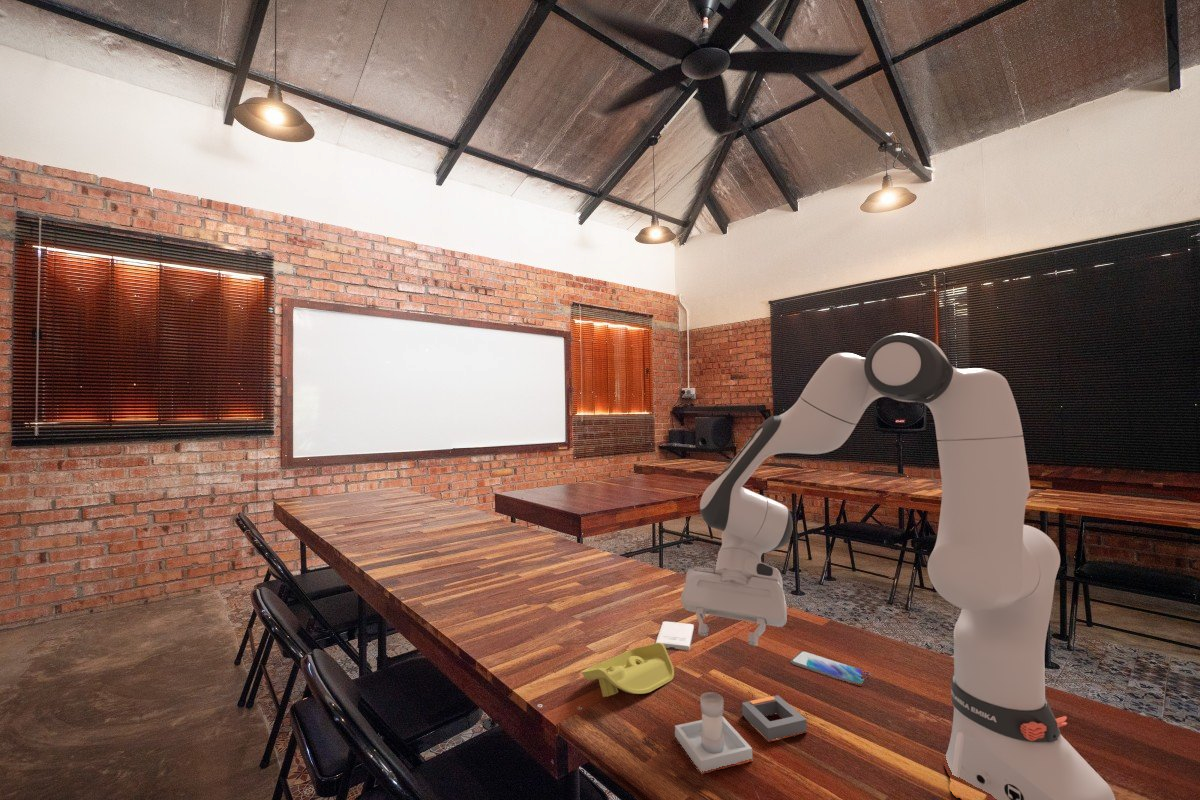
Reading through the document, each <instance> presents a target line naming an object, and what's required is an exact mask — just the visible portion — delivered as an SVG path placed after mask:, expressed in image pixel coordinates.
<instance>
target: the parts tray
mask: <svg viewBox="0 0 1200 800" xmlns="http://www.w3.org/2000/svg"><path fill="white" fill-rule="evenodd" d="M722 720H723V734H724V750H723V751H722V752H721V753H717V754H713V753H709V752H706V751H705V750H704V749H703V748H702V746H701V731H702V719H699V720H694V721H691V722H685V723H682V724H681V723H680V724H677V725H674V738H675V737H676V738H677V740H678V741H679V742H680V744H681V745H682V747H683V748H684V749H685V751H686V752H687V754H688V755H689V757H690V758H691V760H692V761H693V762H694V764H695V765H696V766H697V767H698V769H699V770H700V771H701V772H702V771H703V772H704V771H708V770H711V769H716V768H719V767H722V766H727V765H731V764H736V763H738V762H741V761H745V760H749V759H752V760H753V747H751V745H750V744H749V743H748V742H747V741H746V739H744V738H743V736H742V735H741V734H740V733H739V732H738V731H737V730H736V729H735V728H734V727H733V726H732V725H731V723H730V722H729V721H728V720H727V719H726V718H725V716H723V715H722ZM677 740H676V741H677ZM682 747H681V748H682ZM687 754H686V755H687ZM689 757H688V758H689ZM691 760H690V761H691ZM692 761H691V762H692ZM694 764H693V765H694Z"/></svg>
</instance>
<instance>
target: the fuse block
mask: <svg viewBox="0 0 1200 800" xmlns="http://www.w3.org/2000/svg"><path fill="white" fill-rule="evenodd" d="M775 713H777V714H778V715H779V716H780V717H781V718H783V719H781V718H780V717H779V716H778V715H777V714H775ZM771 714H775V715H777V716H778V717H779V719H775V720H771V721H770V720H769V719H768V718H767V716H766V717H765V715H770V716H772V715H771ZM742 715H743V716H744V717H745V718H746V719H747V720H748V721H749V722H750V723H751V724H752V725H753V726H754V727H755V728H757V729H758V730H759V731H760V732H761V733H762V734H763V735H764V736H765V737H766V739H767V740H771V739H776V738H781V737H784V736H788V735H793V734H796V733H800V732H804V731H808V729H807V728H808V726H807V724H808V723H807V718H806V717H805V716H803V715H802V714H801V713H799V711H798V710H796V709H795V708H794V707H793V706H792V705H791V704H789V703H788V702H787V701H785V700H784V699H783V698H782V697H781V696H780V695H772V696H767V697H761V698H758V699H753V700H749V701H744V702H741V716H742Z"/></svg>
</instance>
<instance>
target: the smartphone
mask: <svg viewBox="0 0 1200 800" xmlns="http://www.w3.org/2000/svg"><path fill="white" fill-rule="evenodd" d="M790 664H791V665H794V666H797V667H800V668H803V669H806V670H809V671H811V672H813V673H818V674H821V675H823V676H826V675H827V676H826V677H829V678H833V679H835V680H838V679H839V680H838V681H841V680H842V681H841V682H844V681H848V682H853V683H856V684H857V683H858V684H862V683H863V681H864V679H865V678H863V679H861V677H862V676H863V675H861V674H863V673H862V672H861V671H862V670H863V669H861V668H858V667H856V666H852V665H848V664H845V663H844V662H843V663H842V662H839V661H836V660H833V659H830V658H827V657H824V656H821V655H817V654H815V653H810V652H808V651H804V650H801V651H800V652H799V653H797V654H796V655H795V656H794V657H792V659H790ZM855 667H856V668H855ZM869 672H870V671H868V672H866V673H868V674H870V675H871V673H869ZM864 673H865V672H864ZM868 674H866V675H868ZM864 676H865V675H864Z"/></svg>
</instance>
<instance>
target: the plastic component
mask: <svg viewBox="0 0 1200 800" xmlns="http://www.w3.org/2000/svg"><path fill="white" fill-rule="evenodd" d="M581 673H582V674H581V675H583V677H584V678H585V679H586V680H587V681H591V680H592V681H594V680H597V679H598V682H599V687H600V690H601V695H602V698H606V697H610V696H614V695H616V694H618V693H619V689H620V690H621V691H623V692H625V693H629V694H632V695H633V694H634V695H640V694H641V695H642V694H648V693H651V692H652V691H655V690H656V689H658V688H660V687H662V686H664V685H666V684H668V683H669V682H672V680H673V679H674V677H675V668H674V665H673V662H672V660H671V658H670V655H669V653H668V650H667V648H665V646H664V644H662V643H656V642H655V643H651V644H647V645H643V646H638V647H635V648H632V649H629V650H626V651H625V652H622V653H619V654H618V655H616V656H612V657H610V658H609V659H606V660H603V661H601V662H598V663H596V664H594V665H592V666H589V667H587V668H585V669H583V670H582V671H581Z"/></svg>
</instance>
